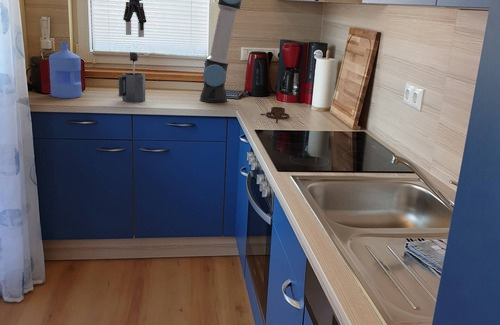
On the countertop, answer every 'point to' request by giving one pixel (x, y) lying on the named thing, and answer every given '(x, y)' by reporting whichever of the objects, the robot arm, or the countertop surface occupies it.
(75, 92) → the water jug
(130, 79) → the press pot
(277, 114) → the place setting
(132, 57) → the plunger
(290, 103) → the countertop surface
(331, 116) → the countertop surface
